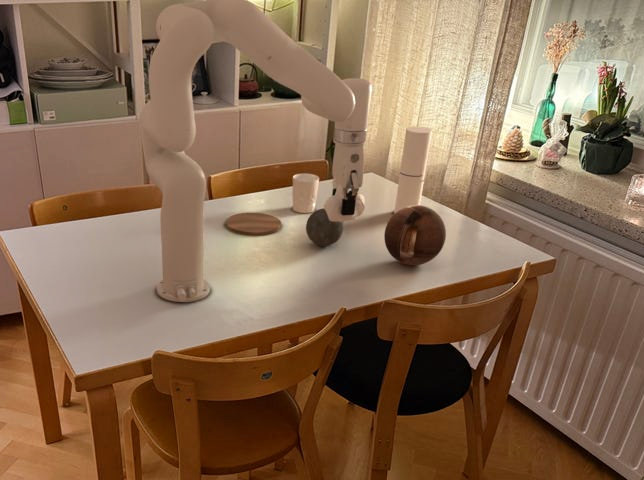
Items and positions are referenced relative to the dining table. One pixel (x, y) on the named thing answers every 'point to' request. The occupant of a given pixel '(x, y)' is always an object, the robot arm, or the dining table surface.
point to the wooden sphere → (415, 235)
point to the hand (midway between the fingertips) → (342, 208)
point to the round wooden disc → (253, 224)
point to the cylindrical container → (413, 167)
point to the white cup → (304, 192)
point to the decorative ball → (323, 228)
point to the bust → (335, 204)
